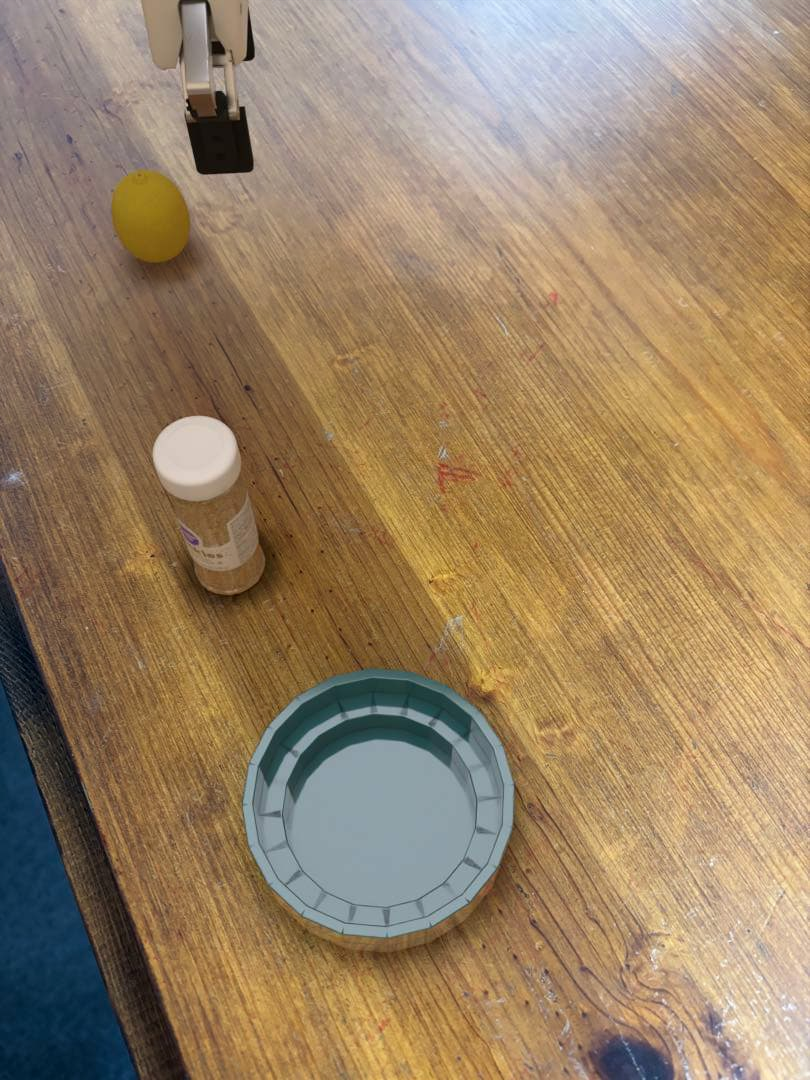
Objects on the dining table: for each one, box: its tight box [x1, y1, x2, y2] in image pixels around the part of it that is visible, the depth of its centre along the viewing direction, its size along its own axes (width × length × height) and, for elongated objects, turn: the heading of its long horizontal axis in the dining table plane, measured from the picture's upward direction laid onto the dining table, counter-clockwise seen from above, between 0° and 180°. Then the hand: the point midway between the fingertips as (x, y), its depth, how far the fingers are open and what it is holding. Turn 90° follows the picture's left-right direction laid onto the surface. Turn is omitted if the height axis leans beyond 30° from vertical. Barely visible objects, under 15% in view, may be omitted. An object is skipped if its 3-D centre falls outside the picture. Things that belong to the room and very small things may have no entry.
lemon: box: [110, 169, 191, 264], centre depth 78 cm, size 6×6×8 cm
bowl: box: [241, 667, 516, 953], centre depth 58 cm, size 14×14×5 cm
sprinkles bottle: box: [152, 415, 266, 596], centre depth 62 cm, size 5×5×13 cm
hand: (227, 112), depth 62 cm, fingers open, 9 cm apart
